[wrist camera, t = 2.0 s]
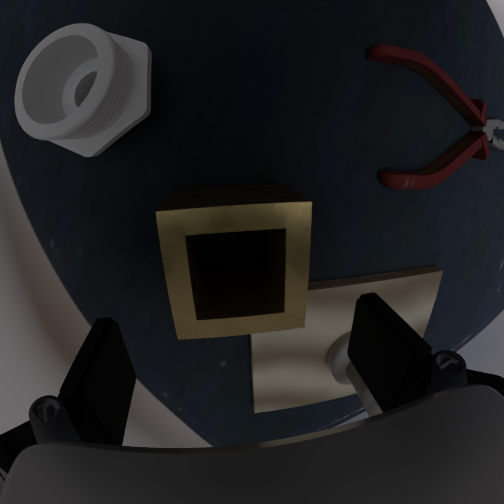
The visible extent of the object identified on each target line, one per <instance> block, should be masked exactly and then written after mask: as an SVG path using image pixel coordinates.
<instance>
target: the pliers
mask: <svg viewBox="0 0 504 504" xmlns="http://www.w3.org/2000/svg"><path fill="white" fill-rule="evenodd" d="M368 59H369V60H373V61H380V62H386V63H392V64H398V65H402V66H405V67H408V68H410V69H412V70H414V71H415V72H417V73H418V74H420V75H421V76H422V77H424V78H425V79H426V80H427V81H428V82H429V83H430V84H431V85H432V86H434V87H435V88H436V89H437V90H438V91H439V92H440V93H441V94H442V95H443V96H444V97H445V98H446V99H447V100H448V101H449V102H450V103H451V104H452V105H453V106H454V108H455V109H456V110H457V111H458V112H459V113H460V114H461V115H462V116H463V117H464V118H465V120H466V121H467V122H468V123H469V124H470V125H471V129H472V131H470V132H469V133H468V134H467V135H465V136H464V137H463V138H462V139H461V140H460V141H458V142H457V143H456V144H455V145H454V146H452V147H451V148H450V149H449V150H447V151H446V152H445V153H444V154H443V155H441V156H440V157H439V158H438V159H436V160H435V161H434V162H433V163H431V164H430V165H428V166H427V167H425V168H423V169H421V170H417V171H412V172H402V171H379V175H380V179H381V181H382V182H383V184H384V185H386V186H387V187H389V188H392V189H416V190H425V189H428V188H432V187H434V186H436V185H438V184H440V183H441V182H443V181H444V180H446V179H447V178H448V177H450V176H451V175H452V174H453V173H454V172H455V171H456V170H457V169H459V168H460V167H461V166H462V165H463V164H464V163H465V162H466V161H467V160H468V159H470V158H471V157H472V156H473V158H476V159H481V160H485V159H486V158H487V157H488V156H489V149H488V146H490V147H492V148H495V149H500V150H504V141H502V140H501V139H500V138H496V137H495V136H494V134H493V129H504V122H503V121H501V120H498V119H487V117H486V111H487V105H486V104H485V103H484V101H483V100H481V99H469V97H468V96H467V95H466V94H465V93H464V92H463V91H462V89H461V88H460V87H459V86H458V85H457V84H456V83H455V82H454V81H453V80H452V79H451V78H450V77H449V76H448V75H447V74H446V73H445V72H444V71H443V70H442V69H441V68H440V67H439V66H438V65H437V64H436V63H434V62H433V61H432V60H431V59H429V58H428V57H426V56H425V55H423V54H421V53H419V52H417V51H415V50H411V49H407V48H402V47H397V46H392V45H387V44H378V45H375V46H373V47H372V48H371V49H370V50H369V52H368Z"/></svg>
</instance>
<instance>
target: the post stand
mask: <svg viewBox="0 0 504 504" xmlns="http://www.w3.org/2000/svg"><path fill="white" fill-rule="evenodd" d="M442 272H443V270H441V269H440V268H438V267H437V266H429V267H423V268H416V269H410V270H403V271H396V272H389V273H381V274H374V275H366V276H358V277H350V278H342V279H334V280H325V281H317V282H308V292H307V305H306V317H305V327H304V328H297V329H290V330H282V331H274V332H265V333H256V334H250V349H251V370H252V391H253V406H254V412H255V413H258V412H266V411H273V410H279V409H286V408H292V407H297V406H303V405H308V404H313V403H318V402H322V401H327V400H331V399H335V398H340V397H344V396H348V395H351V394H355V393H357V394H358V396H359V398H360V400H361V402H362V404H363V406H364V408H365V409H366V411H367V413H368V415H369V417H372V416H375V415H377V414H380V413H383V412H382V411H381V409H380V407H379V406H378V404H377V402H376V401H375V399H374V398H373V396H372V394H371V393H370V391H369V389H368V388H367V386H366V385H365V383H364V381H363V380H362V378H361V377H360V375H359V373H358V372H357V370H356V369H355V367H354V366H353V364H352V362H351V361H350V359H349V357H348V354H347V349H348V344H349V339H350V334H351V329H352V323H353V317H354V311H355V305H356V300H357V299H358V298H360V296H361V295H362V294H366V293H372V292H375V293H376V294H377V295H379V296H380V297H381V298H382V299H383V300H384V301H385V302H386V303H387V304H388V305H389V306H390V307H391V308H392V309H393V310H394V311H395V312H396V313H397V314H398V315H399V316H400V317H401V318H403V319H404V320H405V321H406V322H407V323H408V324H409V325H410V326H411V327H412V328H413V329H414V330H415V331H416V332H417V333H418V334H419V335H420V336H421V337H422V338H423V335H424V332H425V329H426V327H427V324H428V321H429V318H430V315H431V312H432V308H433V305H434V302H435V298H436V295H437V291H438V288H439V284H440V280H441V276H442Z"/></svg>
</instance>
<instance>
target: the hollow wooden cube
mask: <svg viewBox="0 0 504 504" xmlns="http://www.w3.org/2000/svg"><path fill="white" fill-rule="evenodd" d="M311 211H312V202H311V201H310V200H308V199H306V198H305V197H303V196H302V195H300V194H298V193H297V192H295V191H293V190H292V189H290V188H288V187H287V186H285V185H283V184H257V185H237V186H221V187H207V188H195V189H183V190H174V191H173V192H172V193H171V195H170V196H169V197H168V198H167V199H166V200H165V202H164V203H163V204H162V205H161V206H160V207H159V209H158V210H157V211H156V218H157V226H158V234H159V241H160V247H161V254H162V260H163V266H164V272H165V278H166V283H167V289H168V294H169V299H170V304H171V309H172V314H173V319H174V324H175V328H176V333H177V337H178V339H196V338H211V337H224V336H236V335H246V334H256V333H265V332H274V331H282V330H290V329H297V328H304V327H305V317H306V305H307V292H308V277H309V260H310V239H311ZM253 230H265V266H257V267H245V268H233V269H220V270H207V271H200V263H199V254H198V245H197V235H198V234H211V233H224V232H238V231H253Z"/></svg>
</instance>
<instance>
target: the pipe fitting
mask: <svg viewBox="0 0 504 504" xmlns="http://www.w3.org/2000/svg"><path fill="white" fill-rule="evenodd" d="M151 61H152V53H151V50H150V49H149V48H148V46H147V45H146V44H145V43H143V42H140V41H137V40H134V39H130V38H127V37H123V36H120V35H116V34H112V33H108V32H105V31H104V30H103V29H101V28H98V27H96V26H94V25H91V24H84V23H80V24H72V25H68V26H65V27H63V28H60V29H58V30H56V31H55V32H53V33H51V34H50V35H49V36H47V37H46V38H45V39H43V40H42V41H41V42H40V43H39V44H38V45H37V46H36V47H35V48H34V49H33V51H32V52H31V53H30V55H29V56H28V58H27V59H26V61H25V62H24V64H23V66H22V69H21V71H20V74H19V77H18V80H17V84H16V91H15V112H16V116H17V119H18V122H19V124H20V125H21V127H22V128H23V130H24V131H25V132H26V133H27V134H29V135H30V136H32V137H34V138H36V139H40V140H49V141H51V142H53V143H55V144H58V145H60V146H62V147H64V148H67V149H69V150H71V151H73V152H76V153H78V154H80V155H82V156H84V157H93V156H98V155H99V154H101V153H102V152H103V151H104V150H105V149H107V148H108V147H109V146H110V145H111V144H113V143H114V142H115V141H116V140H117V139H119V138H120V137H121V136H122V135H124V134H125V133H126V132H127V131H129V130H130V129H131V128H133V127H134V126H135V125H137V124H138V123H139V122H141V121H142V120H143V119H145V118H146V117H147V116H148V115H149V114H150V111H151Z"/></svg>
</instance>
